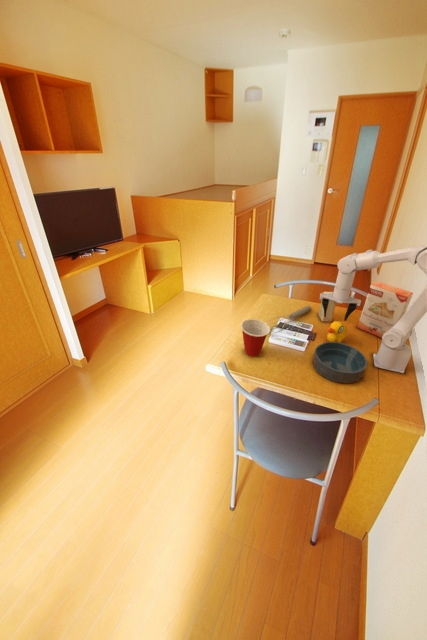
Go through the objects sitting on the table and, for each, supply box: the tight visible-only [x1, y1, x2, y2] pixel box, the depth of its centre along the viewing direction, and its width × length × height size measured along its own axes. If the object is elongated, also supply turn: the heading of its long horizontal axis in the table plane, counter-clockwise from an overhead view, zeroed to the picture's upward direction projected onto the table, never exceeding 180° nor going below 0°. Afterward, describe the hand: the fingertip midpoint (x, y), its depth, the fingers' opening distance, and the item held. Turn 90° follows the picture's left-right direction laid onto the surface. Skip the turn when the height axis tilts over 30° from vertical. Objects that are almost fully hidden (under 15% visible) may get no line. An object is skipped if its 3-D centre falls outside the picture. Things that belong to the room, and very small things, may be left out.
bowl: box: [312, 341, 368, 384], centre depth 103 cm, size 17×17×5 cm
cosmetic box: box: [318, 291, 337, 323], centre depth 130 cm, size 6×4×12 cm
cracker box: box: [356, 281, 414, 339], centre depth 118 cm, size 14×6×21 cm, turn 42°
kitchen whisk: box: [267, 305, 312, 335], centre depth 129 cm, size 6×34×6 cm, turn 133°
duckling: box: [326, 320, 348, 343], centre depth 115 cm, size 11×5×10 cm, turn 123°
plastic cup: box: [240, 318, 271, 357], centre depth 109 cm, size 11×11×12 cm
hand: (334, 317), depth 116 cm, fingers open, 7 cm apart
